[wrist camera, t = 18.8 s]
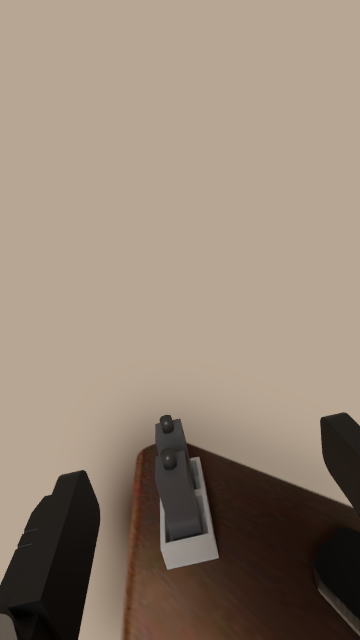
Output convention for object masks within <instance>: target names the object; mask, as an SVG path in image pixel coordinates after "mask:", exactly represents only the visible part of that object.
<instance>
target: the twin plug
mask: <svg viewBox="0 0 360 640" xmlns="http://www.w3.org/2000/svg"><path fill="white" fill-rule="evenodd" d="M155 436H156V437H155V439H156V441H155V442H156V445H157V449H158V452H159V456H160V453H161V451H162V450H163V449H164V448H167V447H170V448H173V450H174V453H175V452H179V451H185V455H186V459H187V463H188V467H189V471H190V475H191V479H192V483H193V487H194V490H196V489H197V487H196V481H195V477H194V473H193V469H192V464H191V460H190V456H189V452H188V448H187V444H186V440H185V436H184V432H183V428H182V424H181V420H180V419H176V420H172V418H171V416H170V415H164V416H162V417H161V418H160V423H158V424H156V435H155Z"/></svg>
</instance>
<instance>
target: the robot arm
mask: <svg viewBox="0 0 360 640" xmlns="http://www.w3.org/2000/svg"><path fill="white" fill-rule="evenodd" d="M320 425H321V440H322V454H323V458H324V462H325V464H326V467H327V469H328V471H329V472H330V474H331V476H332V477H333V478H334V480H335V481H336V483H337V484H338V486H339V487H340V488H341V490H342V491H343V493H344V494H345V496H346V497H347V498H348V500H349V501H350V503H351V504H352V506H353V507H354V509H355V510H356V511H357V513H358V514H359V516H360V426H359V425H358V424H357V423H356V422H355V421H354V420H353V419H352V418H351V417H350V416H349V415H348V414H347V413H339V414H335V415H330V416H326V417H322V418H321V420H320ZM99 526H100V508H99V504H98V501H97V498H96V496H95V493H94V491H93V488H92V485H91V483H90V480H89V478H88V476H87V473H86V472H85V471H84V470H81V471H77V472H72V473H68V474H64V475H61V476H59V478H58V480H57V482H56V485H55V488H54V490H53V493H52V495H49V496H45V497H44V498H43V499H42V500H41V502H40V503H39V504H38V505H37V507H36V508H35V509H34V511H33V512H32V513H31V516H30V518H29V520H28V523H27V525H26V527H25V530H24V534H22V536H21V539H20V541H19V543H18V549H16V550H15V553H14V555H13V557H12V560H11V562H10V564H9V566H8V569H7V571H6V573H5V576H4V578H3V580H2V582H1V585H0V640H78V636H79V631H80V626H81V620H82V615H83V610H84V605H85V599H86V594H87V589H88V584H89V578H90V574H91V568H92V563H93V558H94V552H95V547H96V541H97V537H98V531H99Z"/></svg>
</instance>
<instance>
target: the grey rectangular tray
mask: <svg viewBox="0 0 360 640" xmlns="http://www.w3.org/2000/svg"><path fill="white" fill-rule="evenodd" d="M190 460H191V464H192V469H193V473H194V477H195V481H196V487H197V489H196V490H194V491H195V495H196V499H197V503H198V507H199V511H200V515H201V519H202V526H203V533H204V535H199V536H195V537H191V538H186V539H182V540H177V541H173V538H172V535H171V532H170V528H169V525H168V522H167V518H166V515H165V512H164V508H163V505H162V502H161V499H160V530H161V551H162V554H163V558H164V561H165V564H166V567H167V570H169V569H173V568H177V567H182V566H186V565H191V564H195V563H199V562H204V561H208V560H213V559H217V558H219V556H218V550H217V545H216V540H215V534H214V529H213V524H212V518H211V513H210V508H209V502H208V497H207V491H206V486H205V481H204V475H203V471H202V467H201V462H200V458H199V457H195V458H190Z"/></svg>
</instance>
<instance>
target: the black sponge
mask: <svg viewBox="0 0 360 640" xmlns="http://www.w3.org/2000/svg"><path fill="white" fill-rule="evenodd" d="M314 574H315V582H316V586H317V588H318V590H319V592H320V594H321V595H322V596H324V598H325V599H326V600H327V601H328V602H329V603H330V604H331V605H332V607H333V608H334V609H335V610H336V611H337V612H338V613H339V614H340V616H341V617H342V618H343V619H344V620H345V621H346V622H347V623H348V624H349V625H350V626H351V627H352V629H353V630H354V631H355V632H356V633H357V634H358V635H359V636H360V533H359V532H358V531H355V530H352V529H348V528H339V529H338V530H336V532H335V533H334V534H333V536H332V537H331V539H330V540H329V541H328V542H327V543H325V544H324V545H323V546H322V547H321V549H320V550H319V552H318V553H317V555H316V557H315V559H314Z"/></svg>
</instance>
